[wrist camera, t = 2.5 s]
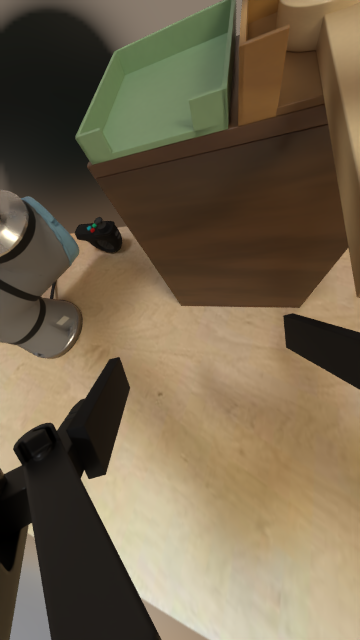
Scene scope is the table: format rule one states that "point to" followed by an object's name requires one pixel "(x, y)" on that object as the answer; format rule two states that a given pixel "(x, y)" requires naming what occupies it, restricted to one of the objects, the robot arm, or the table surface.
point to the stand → (236, 208)
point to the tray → (164, 87)
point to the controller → (100, 235)
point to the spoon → (335, 92)
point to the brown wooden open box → (272, 67)
